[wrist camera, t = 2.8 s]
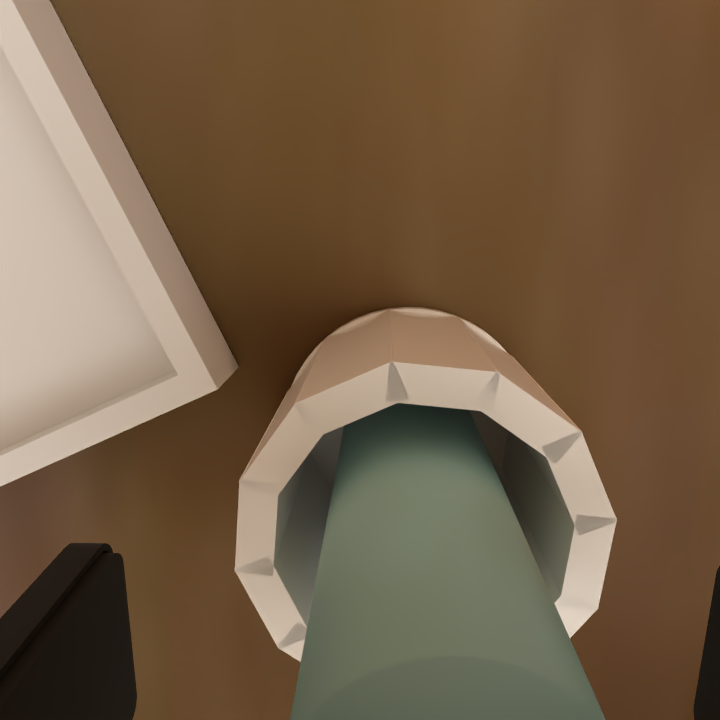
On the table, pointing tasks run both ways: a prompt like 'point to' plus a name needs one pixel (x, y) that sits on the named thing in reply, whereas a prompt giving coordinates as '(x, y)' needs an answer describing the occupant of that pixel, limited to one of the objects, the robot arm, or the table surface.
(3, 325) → the tray
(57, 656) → the robot arm
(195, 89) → the table surface
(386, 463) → the peg
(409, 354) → the cup
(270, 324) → the table surface
